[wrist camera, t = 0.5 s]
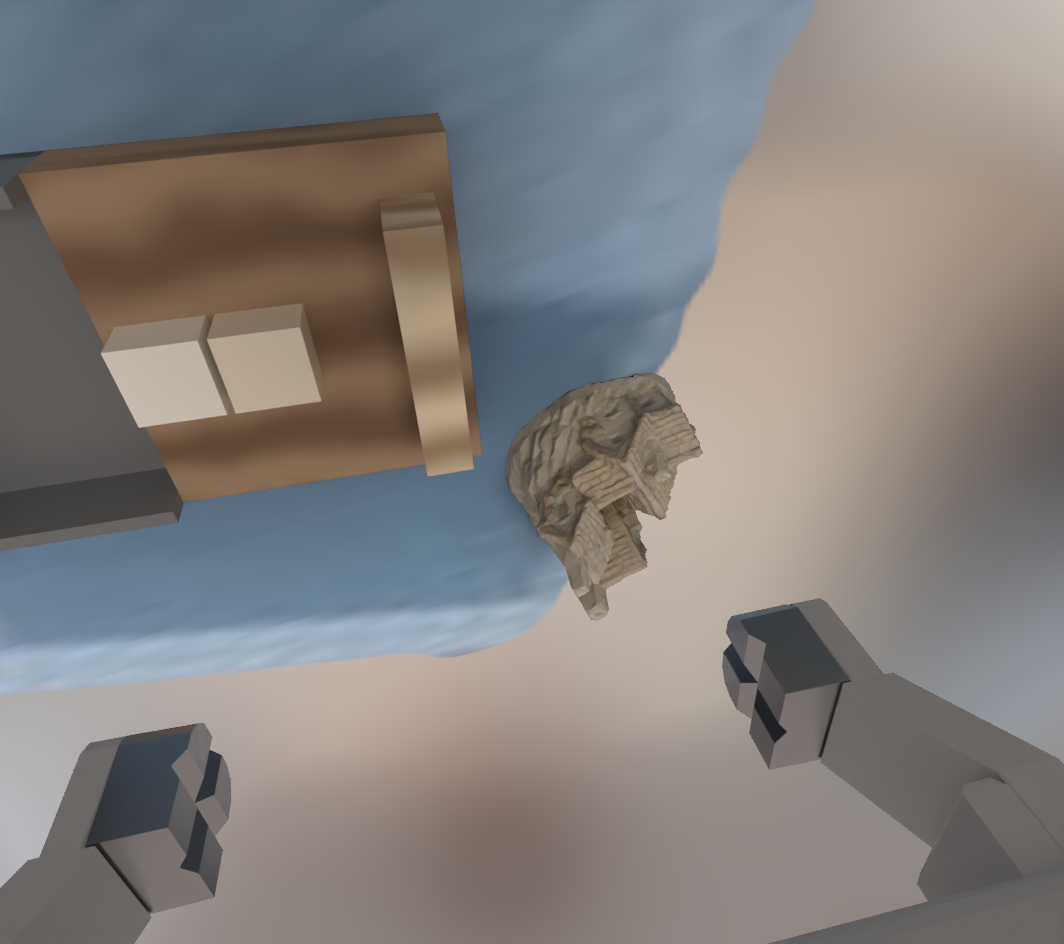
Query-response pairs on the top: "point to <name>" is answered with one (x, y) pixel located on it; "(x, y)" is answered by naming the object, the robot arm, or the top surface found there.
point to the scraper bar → (428, 328)
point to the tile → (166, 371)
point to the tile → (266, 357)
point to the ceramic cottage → (600, 476)
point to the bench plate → (263, 279)
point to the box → (62, 401)
